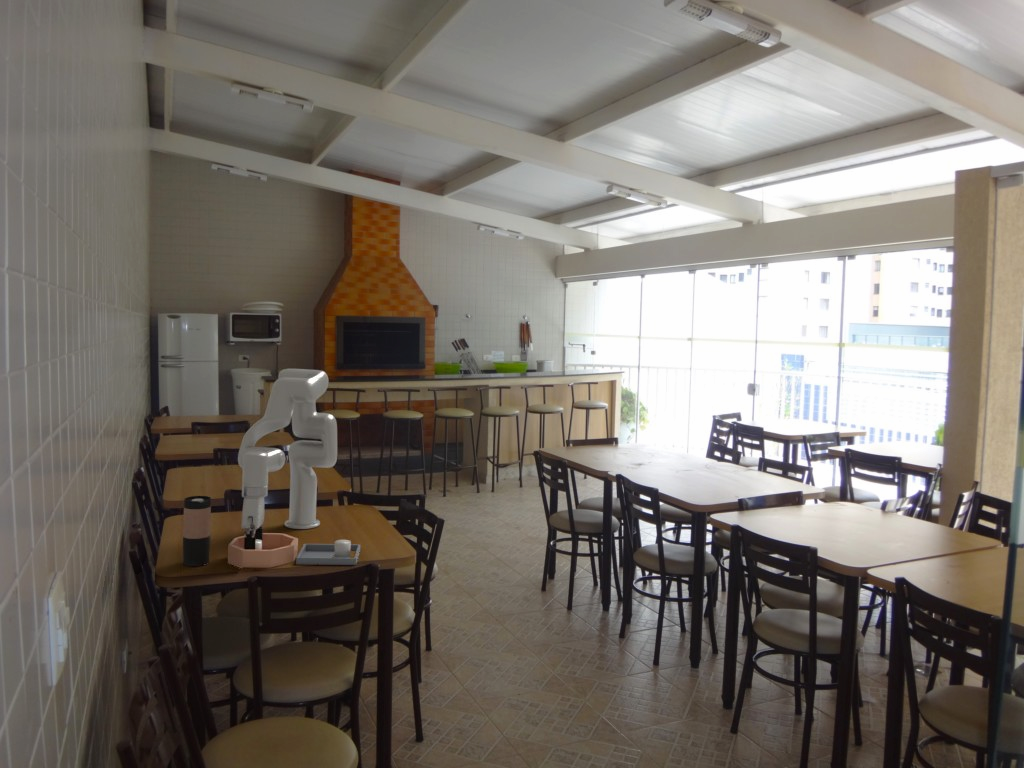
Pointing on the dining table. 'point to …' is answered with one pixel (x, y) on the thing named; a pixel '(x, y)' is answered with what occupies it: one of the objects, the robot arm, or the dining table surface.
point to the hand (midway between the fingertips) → (253, 545)
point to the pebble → (342, 549)
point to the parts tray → (324, 555)
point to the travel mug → (196, 530)
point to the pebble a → (258, 544)
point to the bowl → (264, 551)
